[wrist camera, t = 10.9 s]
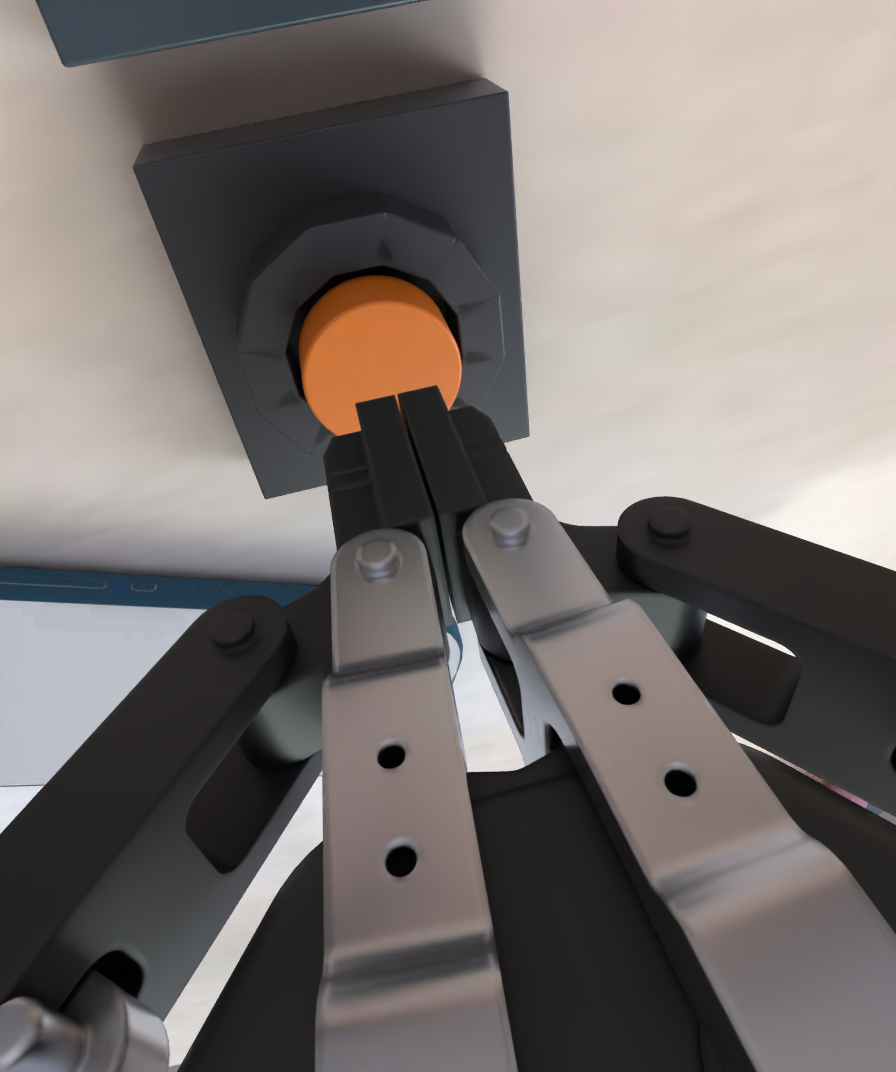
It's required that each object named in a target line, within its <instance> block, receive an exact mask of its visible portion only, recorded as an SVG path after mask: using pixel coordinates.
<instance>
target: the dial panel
mask: <svg viewBox="0 0 896 1072" xmlns="http://www.w3.org/2000/svg"><path fill="white" fill-rule="evenodd" d="M35 1H36V3H37V6H38V8H39V10H40V13H41V15H42V17H43V20H44V22H45V24H46V27H47V29H48V32H49V34H50V36H51V39H52V41H53V43H54V46H55V48H56V50H57V53H58V55H59V58H60V60H61V62H62V64H63V65H64V66H65V67H68V68H71V67H76V66H81V65H86V64H92V63H97V62H102V61H108V60H113V59H118V58H124V57H129V56H134V55H140V54H145V53H150V52H156V51H161V50H166V49H172V48H177V47H182V46H188V45H193V44H198V43H204V42H209V41H214V40H219V39H225V38H230V37H235V36H241V35H246V34H251V33H257V32H262V31H267V30H273V29H278V28H283V27H289V26H294V25H299V24H305V23H310V22H315V21H321V20H326V19H331V18H337V17H342V16H347V15H352V14H358V13H363V12H368V11H374V10H379V9H384V8H390V7H395V6H400V5H406V4H411V3H416V2H422V1H427V0H35Z"/></svg>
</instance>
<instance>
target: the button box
mask: <svg viewBox="0 0 896 1072" xmlns="http://www.w3.org/2000/svg"><path fill="white" fill-rule="evenodd" d="M133 170H134V173H135V175H136V178H137V180H138V183H139V185H140V188H141V190H142V193H143V195H144V198H145V200H146V203H147V205H148V208H149V210H150V213H151V215H152V218H153V220H154V223H155V225H156V228H157V230H158V233H159V235H160V238H161V240H162V243H163V245H164V248H165V250H166V253H167V255H168V258H169V260H170V263H171V265H172V268H173V270H174V273H175V275H176V278H177V280H178V283H179V285H180V288H181V290H182V293H183V295H184V298H185V300H186V303H187V305H188V308H189V310H190V313H191V315H192V318H193V320H194V323H195V325H196V328H197V330H198V333H199V335H200V338H201V340H202V343H203V345H204V348H205V350H206V353H207V355H208V358H209V360H210V363H211V365H212V368H213V370H214V373H215V375H216V378H217V380H218V383H219V385H220V388H221V390H222V393H223V396H224V398H225V401H226V403H227V406H228V408H229V411H230V413H231V416H232V418H233V421H234V423H235V426H236V428H237V431H238V433H239V436H240V438H241V441H242V443H243V446H244V448H245V451H246V453H247V456H248V458H249V461H250V463H251V466H252V468H253V471H254V473H255V476H256V478H257V481H258V483H259V486H260V488H261V491H262V493H263V496H264V498H265V499H269V498H273V497H277V496H282V495H286V494H290V493H294V492H298V491H303V490H307V489H311V488H315V487H319V486H324V485H327V480H326V479H327V478H326V473H325V466H324V460H323V455H324V453H325V451H326V449H327V447H328V445H329V443H330V441H331V439H332V437H336V436H337V435H335V434H334V433H332V432H331V431H330V430H328V429H327V428H326V427H325V426H324V425H323V424H322V423H321V422H320V421H319V420H318V419H317V418H316V416H315V415H314V414H313V412H312V410H311V409H310V407H309V405H308V402H307V400H306V397H305V394H304V389H303V383H302V375H301V367H300V359H299V338H300V333H301V329H302V326H303V323H304V321H305V319H306V317H307V315H308V313H309V311H310V310H311V308H312V307H313V306H314V304H315V303H316V302H317V301H318V300H319V299H320V298H321V297H322V296H323V295H324V294H325V293H327V292H328V291H329V290H330V289H332V288H334V287H335V286H337V285H339V284H341V283H343V282H345V281H347V280H350V279H354V278H357V277H362V276H369V275H383V276H391V277H395V278H399V279H402V280H404V281H407V282H409V283H411V284H413V285H415V286H416V287H418V288H419V289H421V290H422V291H423V292H425V293H426V294H427V295H428V296H429V297H430V298H431V299H432V300H433V301H434V303H435V304H436V305H437V307H438V308H439V310H440V312H441V314H442V316H443V318H444V320H445V321H446V323H447V325H448V327H449V329H450V331H451V333H452V335H453V337H454V339H455V341H456V343H457V346H458V349H459V352H460V357H461V364H462V374H461V382H460V387H459V390H458V393H457V396H456V398H455V400H454V402H453V404H452V406H451V408H450V409H449V411H450V410H454V409H459V408H463V407H467V406H473V407H475V408H476V409H478V410H479V411H481V412H482V413H484V414H485V415H487V416H488V417H490V418H491V420H492V422H493V424H494V425H495V427H496V429H497V431H498V433H499V436H500V438H501V439H502V441H503V443H505V442H509V441H513V440H517V439H521V438H526V437H529V435H530V434H529V418H528V402H527V386H526V370H525V354H524V337H523V321H522V305H521V289H520V273H519V257H518V240H517V224H516V208H515V192H514V176H513V160H512V143H511V127H510V111H509V95H508V91H506V90H504V89H503V88H501V87H499V86H498V85H496V84H494V83H493V82H491V81H489V80H488V79H486V78H481V79H476V80H471V81H466V82H461V83H455V84H450V85H445V86H440V87H435V88H430V89H425V90H420V91H415V92H410V93H405V94H400V95H395V96H390V97H385V98H380V99H374V100H369V101H364V102H359V103H354V104H349V105H344V106H339V107H334V108H329V109H324V110H319V111H314V112H309V113H304V114H299V115H293V116H288V117H283V118H278V119H273V120H268V121H263V122H258V123H253V124H248V125H243V126H238V127H233V128H228V129H223V130H218V131H212V132H207V133H202V134H197V135H192V136H187V137H182V138H177V139H172V140H167V141H162V142H157V143H152V144H147V145H144V146H143V147H142V149H141V151H140V153H139V155H138V157H137V159H136V161H135V163H134V165H133Z"/></svg>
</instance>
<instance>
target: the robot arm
mask: <svg viewBox="0 0 896 1072" xmlns="http://www.w3.org/2000/svg"><path fill="white" fill-rule="evenodd" d="M397 396H398V403H399V407H398V404H397V401H396V398H395V395H390V396H385V397H381V398H377V399H372V400H368V401H363V402H359V403H355V406H356V411H357V415H358V419H359V423H360V427H361V431H358V432H353V433H349V434H344V435H340V436H336V437H332V439H331V441H330V443H329V445H328V447H327V449H326V451H325V453H324V455H323V460H324V466H325V473H326V478H327V479H326V480H327V486H328V492H329V500H330V506H331V513H332V520H333V526H334V533H335V540H336V546H337V552H336V554H335V555H334V557H333V559H332V562H331V568H330V574H329V575H328V577H327V578H326V579H325V580H324V581H323V582H322V583H321V584H320V585H319V586H318V587H316V588H315V589H314V590H312V591H311V592H309V593H308V594H306V595H304V596H303V597H301V598H299V599H297V600H295V601H293V602H291V603H289V604H287V605H285V606H283V607H281V606H280V605H279V604H278V603H277V602H275V601H274V600H272V599H270V598H267V597H264V596H259V595H244V596H238V597H233V598H230V599H227V600H224V601H222V602H220V603H218V604H216V605H214V606H213V607H211V608H209V609H208V610H207V611H205V612H204V613H203V614H201V615H200V616H199V617H198V618H197V619H196V620H195V621H194V622H193V623H192V624H191V626H190V627H189V628H188V629H187V630H186V631H185V632H184V633H183V634H182V635H181V637H180V638H179V639H178V640H177V641H176V642H175V643H174V644H173V645H172V646H171V648H170V649H169V650H168V651H167V652H166V653H165V654H164V655H163V656H162V657H161V658H160V660H159V661H158V662H157V663H156V664H155V665H154V666H153V667H152V668H151V669H150V671H149V672H148V673H147V674H146V675H145V676H144V677H143V678H142V679H141V680H140V681H139V683H138V684H137V685H136V686H135V687H134V688H133V689H132V690H131V691H130V692H129V694H128V695H127V696H126V697H125V698H124V699H123V700H122V701H121V702H120V703H119V705H118V706H117V707H116V708H115V709H114V710H113V711H112V712H111V713H110V714H109V715H108V717H107V718H106V719H105V720H104V721H103V722H102V723H101V724H100V725H99V726H98V728H97V729H96V730H95V731H94V732H93V733H92V734H91V735H90V736H89V737H88V739H87V740H86V741H85V742H84V743H83V744H82V745H81V746H80V747H79V748H78V749H77V751H76V752H75V753H74V754H73V755H72V756H71V757H70V758H69V759H68V760H67V762H66V763H65V764H64V765H63V766H62V767H61V768H60V769H59V770H58V771H57V772H56V774H55V775H54V776H53V777H52V778H51V779H50V780H49V781H48V782H47V783H46V785H45V786H44V787H43V788H42V789H41V790H40V791H39V792H38V793H37V794H36V796H35V797H34V798H33V799H32V800H31V801H30V802H29V803H28V804H27V805H26V806H25V808H24V809H23V810H22V811H21V812H20V813H19V814H18V815H17V816H16V817H15V819H14V820H13V821H12V822H11V823H10V824H9V825H8V826H7V827H6V828H5V830H4V831H3V832H2V833H1V834H0V1072H168V1068H169V1056H170V1051H169V1040H168V1036H167V1031H166V1029H165V1027H164V1024H163V1021H164V1020H165V1018H166V1016H167V1015H168V1013H169V1012H170V1010H171V1009H172V1007H173V1005H174V1004H175V1002H176V1001H177V999H178V997H179V996H180V994H181V993H182V991H183V990H184V988H185V986H186V985H187V983H188V982H189V980H190V978H191V977H192V975H193V974H194V972H195V971H196V969H197V967H198V966H199V964H200V963H201V961H202V960H203V958H204V956H205V955H206V953H207V952H208V950H209V948H210V947H211V945H212V944H213V942H214V941H215V939H216V937H217V936H218V934H219V933H220V931H221V929H222V928H223V926H224V925H225V923H226V922H227V920H228V918H229V917H230V915H231V914H232V912H233V910H234V909H235V907H236V906H237V904H238V903H239V901H240V899H241V898H242V896H243V895H244V893H245V891H246V890H247V888H248V887H249V885H250V884H251V882H252V880H253V879H254V877H255V876H256V874H257V872H258V871H259V869H260V868H261V866H262V865H263V863H264V861H265V860H266V858H267V857H268V855H269V853H270V852H271V850H272V849H273V847H274V846H275V844H276V842H277V841H278V839H279V838H280V836H281V834H282V833H283V831H284V830H285V828H286V827H287V825H288V823H289V822H290V820H291V819H292V817H293V815H294V814H295V812H296V811H297V809H298V808H299V806H300V804H301V803H302V801H303V800H304V798H305V796H306V795H307V793H308V792H309V790H310V789H311V787H312V785H313V784H314V782H315V781H316V779H317V777H318V776H319V774H320V773H321V771H322V783H323V841H322V842H321V843H320V844H319V845H318V846H316V847H315V848H314V849H313V850H312V851H311V852H310V853H309V854H308V855H307V856H306V857H305V858H304V859H303V860H302V861H301V863H300V864H299V865H298V866H297V867H296V868H295V869H294V870H293V872H292V873H291V874H290V876H289V877H288V879H287V880H286V881H285V883H284V884H283V885H282V887H281V888H280V890H279V891H278V893H277V895H276V896H275V898H274V900H273V901H272V903H271V905H270V907H269V908H268V910H267V912H266V914H265V916H264V917H263V919H262V921H261V923H260V924H259V926H258V928H257V930H256V932H255V933H254V935H253V937H252V939H251V940H250V942H249V944H248V946H247V948H246V949H245V951H244V953H243V955H242V957H241V958H240V960H239V962H238V964H237V965H236V967H235V969H234V971H233V973H232V974H231V976H230V978H229V980H228V982H227V983H226V985H225V987H224V989H223V990H222V992H221V994H220V996H219V998H218V999H217V1001H216V1003H215V1005H214V1007H213V1008H212V1010H211V1012H210V1014H209V1015H208V1017H207V1019H206V1021H205V1023H204V1024H203V1026H202V1028H201V1030H200V1032H199V1033H198V1035H197V1037H196V1039H195V1040H194V1042H193V1044H192V1046H191V1048H190V1049H189V1051H188V1053H187V1055H186V1057H185V1058H184V1060H183V1062H182V1064H181V1066H180V1067H179V1069H178V1071H177V1072H896V825H895V824H892V823H891V822H889V821H887V820H885V819H884V818H882V817H880V816H878V815H877V814H875V813H873V812H871V811H869V810H868V809H866V808H864V807H862V806H860V805H859V804H857V803H855V802H853V801H851V800H849V799H848V798H846V797H844V796H842V795H840V794H839V793H837V792H835V791H833V790H831V789H830V788H828V787H826V786H824V785H822V784H821V783H819V782H817V781H815V780H813V779H812V778H810V777H808V776H806V775H804V774H802V773H801V772H799V771H797V770H795V769H793V768H792V767H790V766H788V765H786V764H784V763H783V762H781V761H779V760H777V759H775V758H773V757H771V756H769V755H767V754H765V753H763V752H761V751H758V750H756V749H754V748H751V747H749V746H746V745H744V744H741V743H738V742H737V741H736V740H735V738H734V737H733V735H732V734H731V733H730V732H732V733H734V734H736V735H738V736H740V737H742V738H744V739H745V740H747V741H749V742H751V743H753V744H755V745H757V746H759V747H761V748H763V749H765V750H767V751H769V752H771V753H773V754H775V755H777V756H779V757H780V758H782V759H784V760H786V761H788V762H790V763H792V764H794V765H796V766H798V767H800V768H802V769H804V770H806V771H808V772H810V773H812V774H814V775H815V776H817V777H819V778H821V779H823V780H825V781H827V782H829V783H831V784H833V785H835V786H837V787H839V788H841V789H843V790H845V791H847V792H848V793H850V794H852V795H854V796H856V797H858V798H860V799H862V800H864V801H866V802H868V803H870V804H872V805H874V806H876V807H878V808H880V809H882V810H883V811H885V812H887V813H889V814H891V815H893V816H895V817H896V571H893V570H890V569H888V568H885V567H882V566H879V565H876V564H873V563H870V562H867V561H864V560H861V559H859V558H856V557H853V556H850V555H847V554H844V553H841V552H838V551H835V550H832V549H830V548H827V547H824V546H821V545H818V544H815V543H812V542H809V541H806V540H803V539H801V538H798V537H795V536H792V535H789V534H786V533H783V532H780V531H777V530H774V529H772V528H769V527H766V526H763V525H760V524H757V523H754V522H751V521H748V520H745V519H743V518H740V517H737V516H734V515H731V514H728V513H725V512H722V511H719V510H716V509H714V508H711V507H708V506H705V505H702V504H699V503H696V502H693V501H690V500H687V499H683V498H677V497H667V496H664V497H653V498H647V499H644V500H641V501H638V502H636V503H634V504H632V505H631V506H629V507H628V508H627V509H626V510H625V511H624V512H623V513H622V514H621V516H620V518H619V520H618V526H577V525H570V524H566V523H562V522H560V521H558V520H557V518H556V517H555V515H554V514H553V513H552V512H551V511H550V510H549V509H548V508H546V507H545V506H543V505H541V504H540V503H537V502H534V501H533V500H532V498H531V496H530V494H529V492H528V490H527V488H526V486H525V484H524V482H523V480H522V478H521V476H520V474H519V472H518V470H517V468H516V466H515V464H514V463H513V461H512V459H511V457H510V455H509V453H508V452H507V450H506V447H505V445H504V443H503V441H502V439H501V438H500V436H499V433H498V431H497V429H496V427H495V425H494V424H493V422H492V420H491V418H490V417H488V416H487V415H485V414H484V413H482V412H481V411H479V410H478V409H476V408H475V407H473V406H467V407H463V408H459V409H454V410H450V411H448V408H447V406H446V404H445V401H444V399H443V397H442V394H441V392H440V390H439V388H438V386H437V385H434V386H430V387H425V388H421V389H416V390H412V391H407V392H403V393H398V394H397ZM399 408H400V410H399ZM448 594H449V595H448ZM449 597H450V600H451V604H452V607H453V610H454V613H455V616H456V620H457V623H461V622H465V621H469V620H472V622H473V625H474V628H475V631H476V634H477V638H478V645H479V651H480V657H481V660H482V663H483V665H484V668H485V670H486V672H487V675H488V677H489V679H490V682H491V684H492V686H493V689H494V691H495V693H496V696H497V698H498V700H499V703H500V705H501V707H502V709H503V712H504V714H505V716H506V719H507V721H508V723H509V726H510V728H511V730H512V733H513V735H514V737H515V740H516V742H517V744H518V746H519V749H520V751H521V754H522V757H523V760H524V763H525V767H523V768H521V769H518V770H515V771H501V772H468V767H467V762H466V756H465V751H464V745H463V740H462V734H461V729H460V723H459V718H458V712H457V707H456V701H455V696H454V690H453V685H452V679H451V674H450V669H449V664H448V662H449V658H450V647H449V642H448V637H447V632H446V627H447V626H451V625H454V623H453V618H452V612H451V606H450V601H449ZM707 613H709V614H712V615H714V616H716V617H719V618H721V619H723V620H726V621H728V622H730V623H733V624H735V625H737V626H740V627H742V628H744V629H747V630H749V631H751V632H754V633H756V634H758V635H761V636H763V637H765V638H768V639H770V640H772V641H775V642H777V643H779V644H781V645H783V646H784V647H786V648H787V649H789V650H790V651H791V652H792V653H793V654H794V655H795V656H796V657H794V656H791V655H789V654H786V653H784V652H782V651H779V650H777V649H775V648H772V647H770V646H768V645H766V644H763V643H761V642H759V641H756V640H754V639H752V638H749V637H747V636H745V635H743V634H740V633H738V632H736V631H733V630H731V629H729V628H726V627H724V626H722V625H720V624H717V623H715V622H713V621H710V620H708V619H706V615H707Z"/></svg>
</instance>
